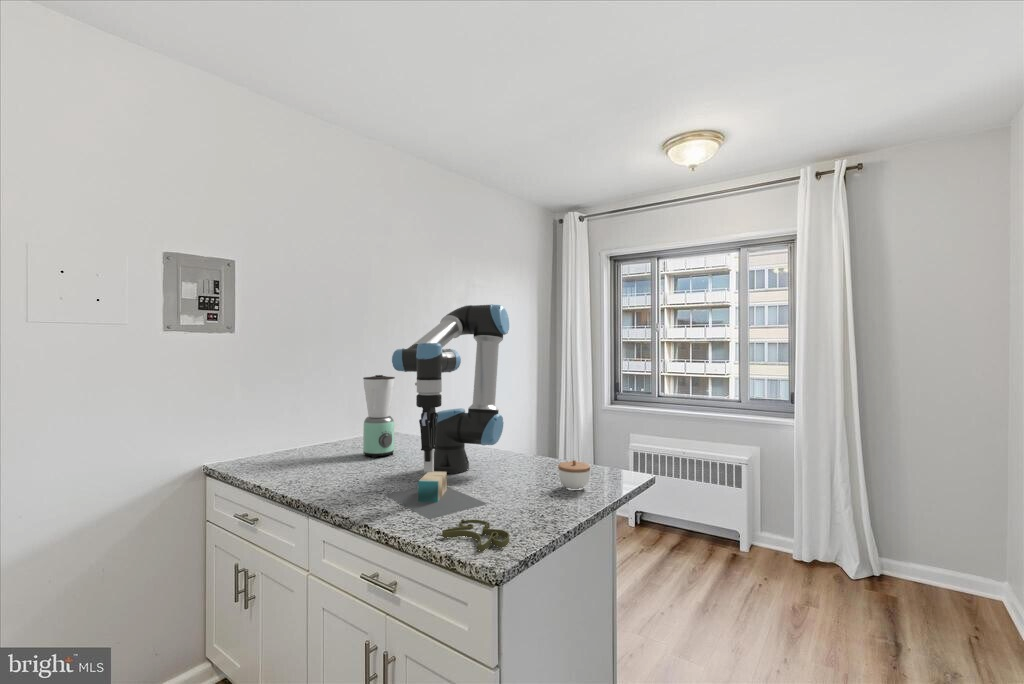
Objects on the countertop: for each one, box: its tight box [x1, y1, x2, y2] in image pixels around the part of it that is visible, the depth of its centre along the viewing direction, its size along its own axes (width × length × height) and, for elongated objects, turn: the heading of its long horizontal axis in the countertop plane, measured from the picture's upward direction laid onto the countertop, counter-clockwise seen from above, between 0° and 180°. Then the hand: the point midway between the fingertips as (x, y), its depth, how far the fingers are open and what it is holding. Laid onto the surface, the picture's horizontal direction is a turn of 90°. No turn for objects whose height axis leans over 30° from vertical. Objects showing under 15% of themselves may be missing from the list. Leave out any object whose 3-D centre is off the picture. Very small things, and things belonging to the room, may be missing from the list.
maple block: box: [417, 471, 448, 502], centre depth 151 cm, size 6×6×12 cm
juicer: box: [362, 374, 396, 459], centre depth 213 cm, size 19×13×35 cm
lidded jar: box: [557, 459, 591, 489], centre depth 163 cm, size 11×11×9 cm
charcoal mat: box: [384, 486, 488, 520], centre depth 148 cm, size 20×28×1 cm
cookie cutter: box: [441, 519, 510, 552], centre depth 121 cm, size 18×12×2 cm, turn 50°
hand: (428, 471), depth 146 cm, fingers closed
